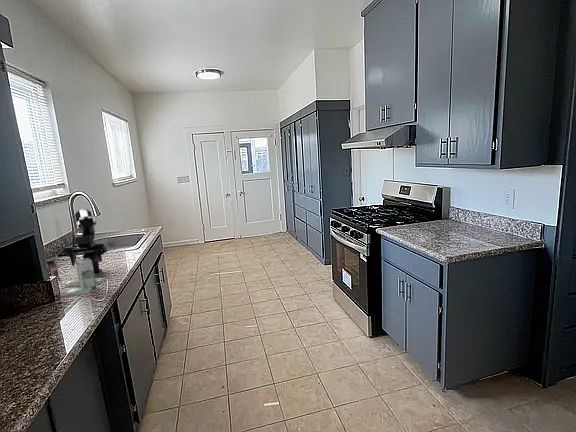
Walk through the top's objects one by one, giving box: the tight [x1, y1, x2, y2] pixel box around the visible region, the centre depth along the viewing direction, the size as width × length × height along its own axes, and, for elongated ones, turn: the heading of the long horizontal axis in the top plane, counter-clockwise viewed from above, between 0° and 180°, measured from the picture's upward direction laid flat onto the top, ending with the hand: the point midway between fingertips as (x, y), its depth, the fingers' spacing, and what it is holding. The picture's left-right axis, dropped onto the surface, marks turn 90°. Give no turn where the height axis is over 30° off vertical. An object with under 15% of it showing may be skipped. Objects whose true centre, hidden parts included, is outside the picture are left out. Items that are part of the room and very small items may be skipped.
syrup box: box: [75, 258, 97, 288], centre depth 169 cm, size 6×6×14 cm
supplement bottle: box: [46, 258, 60, 279], centre depth 186 cm, size 6×6×11 cm
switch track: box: [59, 277, 103, 297], centre depth 170 cm, size 17×17×2 cm
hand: (83, 264), depth 167 cm, fingers open, 9 cm apart
